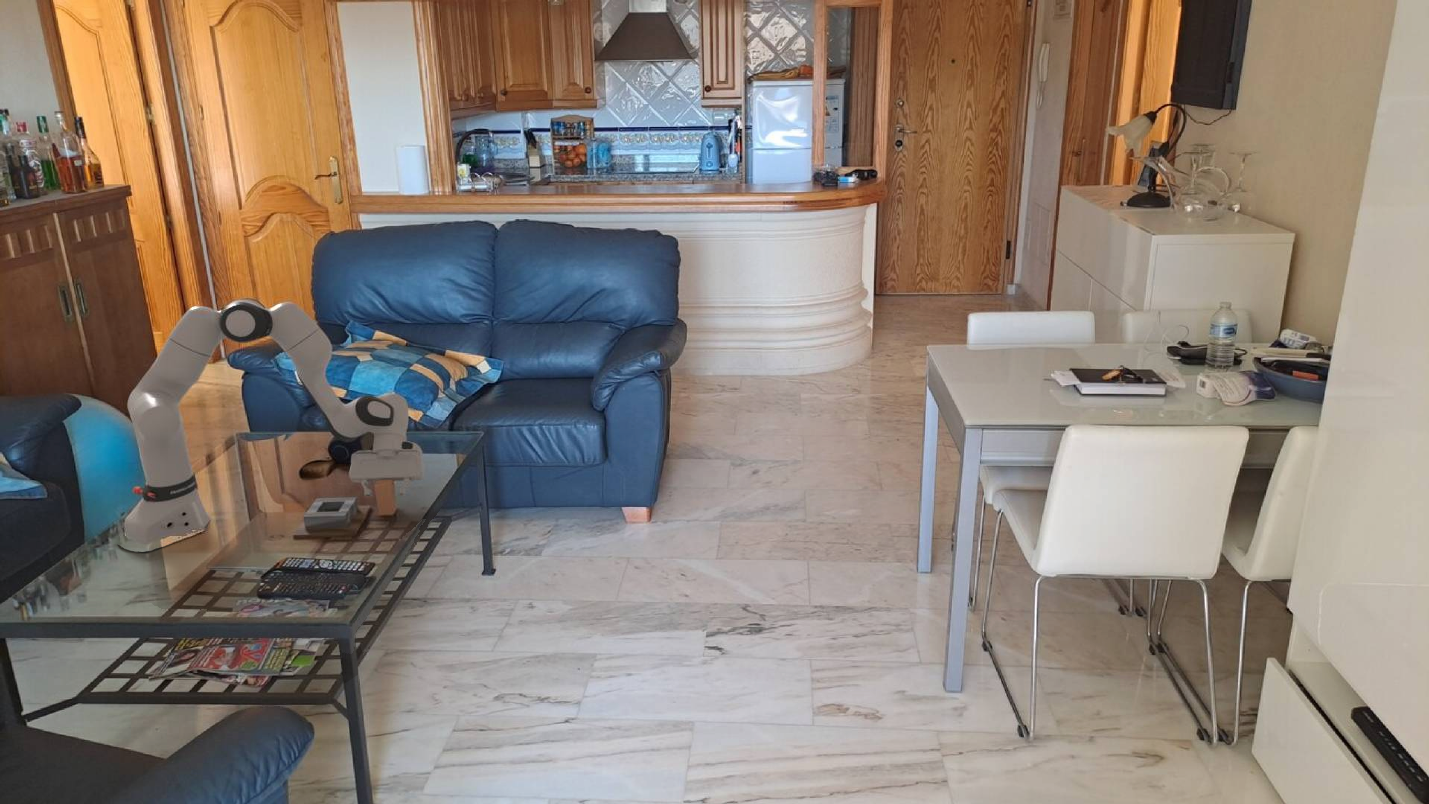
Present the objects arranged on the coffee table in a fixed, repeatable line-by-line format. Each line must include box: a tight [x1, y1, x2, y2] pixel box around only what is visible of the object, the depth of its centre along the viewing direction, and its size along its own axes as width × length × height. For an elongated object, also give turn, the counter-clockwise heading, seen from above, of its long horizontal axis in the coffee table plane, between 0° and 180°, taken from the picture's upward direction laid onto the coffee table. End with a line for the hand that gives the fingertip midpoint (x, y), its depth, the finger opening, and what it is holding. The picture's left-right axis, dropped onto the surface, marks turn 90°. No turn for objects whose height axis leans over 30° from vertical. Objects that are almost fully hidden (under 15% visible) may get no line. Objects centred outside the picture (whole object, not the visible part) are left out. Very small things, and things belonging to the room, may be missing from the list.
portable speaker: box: [327, 432, 374, 464], centre depth 310 cm, size 25×10×10 cm, turn 170°
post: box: [374, 479, 398, 516], centre depth 270 cm, size 4×4×9 cm
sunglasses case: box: [298, 445, 339, 479], centre depth 302 cm, size 18×7×7 cm
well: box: [292, 496, 372, 539], centre depth 265 cm, size 16×16×5 cm
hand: (384, 495), depth 269 cm, fingers open, 8 cm apart
